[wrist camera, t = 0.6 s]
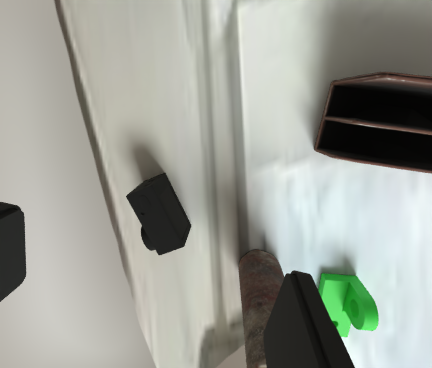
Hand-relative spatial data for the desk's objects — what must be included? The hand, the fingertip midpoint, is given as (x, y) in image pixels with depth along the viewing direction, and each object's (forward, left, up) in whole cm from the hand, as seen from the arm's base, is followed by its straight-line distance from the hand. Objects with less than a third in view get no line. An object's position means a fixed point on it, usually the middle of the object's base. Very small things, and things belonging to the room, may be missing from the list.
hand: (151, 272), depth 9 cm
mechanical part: (+23, +28, -31) cm, 48 cm away
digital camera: (+12, -6, -31) cm, 34 cm away
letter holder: (-9, +24, -31) cm, 41 cm away
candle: (+19, +13, -31) cm, 39 cm away
